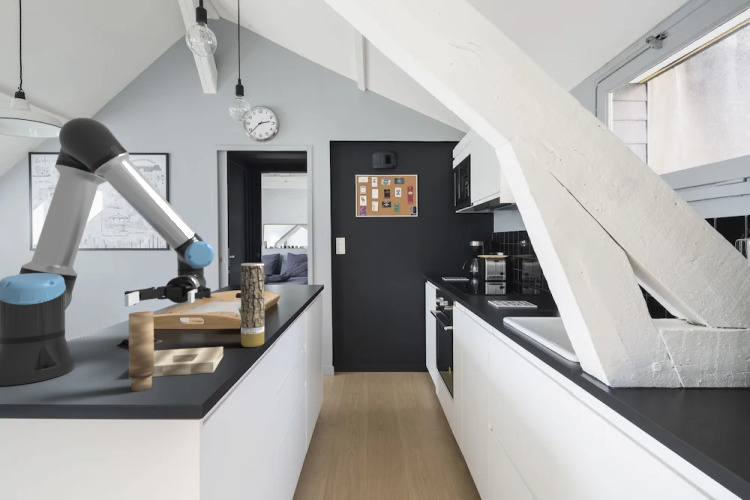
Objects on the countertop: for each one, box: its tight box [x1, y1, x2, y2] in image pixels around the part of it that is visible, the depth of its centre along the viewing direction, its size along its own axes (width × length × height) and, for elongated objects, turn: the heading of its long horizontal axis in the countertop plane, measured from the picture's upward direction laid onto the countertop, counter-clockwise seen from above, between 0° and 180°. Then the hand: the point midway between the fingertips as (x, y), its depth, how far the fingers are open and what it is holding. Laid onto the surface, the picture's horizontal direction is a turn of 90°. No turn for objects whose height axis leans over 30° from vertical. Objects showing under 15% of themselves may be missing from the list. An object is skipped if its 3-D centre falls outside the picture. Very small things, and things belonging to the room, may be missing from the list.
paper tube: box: [240, 262, 265, 348], centre depth 115 cm, size 7×7×25 cm
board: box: [128, 346, 224, 379], centre depth 95 cm, size 18×14×2 cm
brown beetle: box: [116, 336, 163, 350], centre depth 116 cm, size 11×8×4 cm
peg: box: [128, 310, 155, 392], centre depth 80 cm, size 5×5×16 cm
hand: (158, 299), depth 90 cm, fingers open, 13 cm apart
